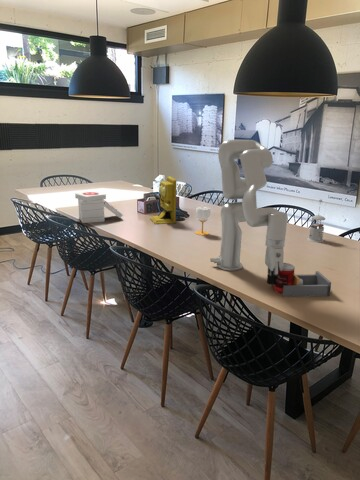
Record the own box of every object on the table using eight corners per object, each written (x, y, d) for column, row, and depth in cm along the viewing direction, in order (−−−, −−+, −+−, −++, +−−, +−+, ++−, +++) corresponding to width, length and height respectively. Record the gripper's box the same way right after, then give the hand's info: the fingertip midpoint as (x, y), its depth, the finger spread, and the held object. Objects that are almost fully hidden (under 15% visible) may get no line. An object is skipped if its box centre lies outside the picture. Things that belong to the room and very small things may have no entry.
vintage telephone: (147, 215, 287) (147, 174, 278) (165, 215, 291) (165, 174, 282) (157, 226, 258) (158, 181, 249) (177, 225, 262) (178, 181, 253)
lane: (283, 296, 160) (285, 283, 158) (273, 284, 172) (275, 271, 170) (329, 295, 162) (331, 282, 160) (316, 283, 173) (318, 271, 172)
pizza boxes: (123, 220, 271) (123, 195, 266) (79, 223, 260) (78, 197, 255) (117, 214, 288) (116, 190, 283) (75, 217, 277) (74, 192, 272)
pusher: (295, 294, 162) (297, 278, 160) (287, 285, 171) (289, 270, 169) (304, 294, 162) (306, 278, 160) (296, 285, 171) (298, 270, 169)
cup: (204, 236, 240) (205, 210, 235) (192, 233, 245) (193, 208, 240) (212, 233, 247) (213, 208, 242) (200, 230, 252) (201, 206, 247)
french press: (305, 240, 236) (310, 199, 229) (309, 236, 246) (314, 196, 239) (322, 243, 232) (328, 201, 225) (325, 238, 242) (331, 198, 235)
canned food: (288, 286, 170) (291, 262, 167) (294, 294, 162) (297, 269, 159) (271, 286, 170) (273, 262, 166) (276, 294, 162) (278, 269, 159)
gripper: (290, 247, 152) (285, 291, 158) (278, 236, 166) (274, 276, 172) (271, 248, 152) (267, 291, 157) (261, 236, 166) (257, 276, 171)
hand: (271, 283), depth 164 cm, fingers closed
